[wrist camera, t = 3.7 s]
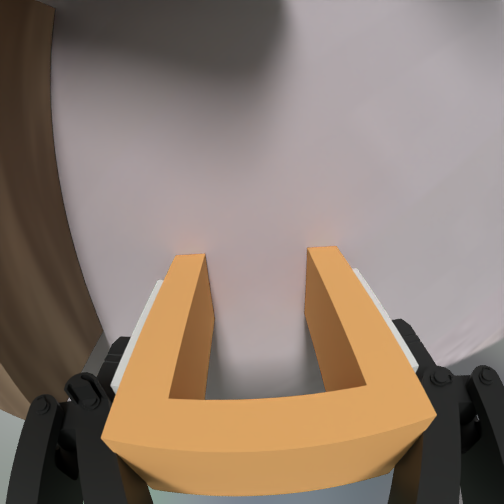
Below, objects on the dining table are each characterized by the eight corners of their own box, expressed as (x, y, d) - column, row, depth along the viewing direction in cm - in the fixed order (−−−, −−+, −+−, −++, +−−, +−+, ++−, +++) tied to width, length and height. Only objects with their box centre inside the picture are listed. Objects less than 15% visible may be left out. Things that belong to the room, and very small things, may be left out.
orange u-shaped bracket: (336, 245, 14) (437, 414, 5) (330, 310, 16) (388, 473, 7) (175, 255, 14) (100, 438, 5) (188, 319, 16) (152, 489, 7)
